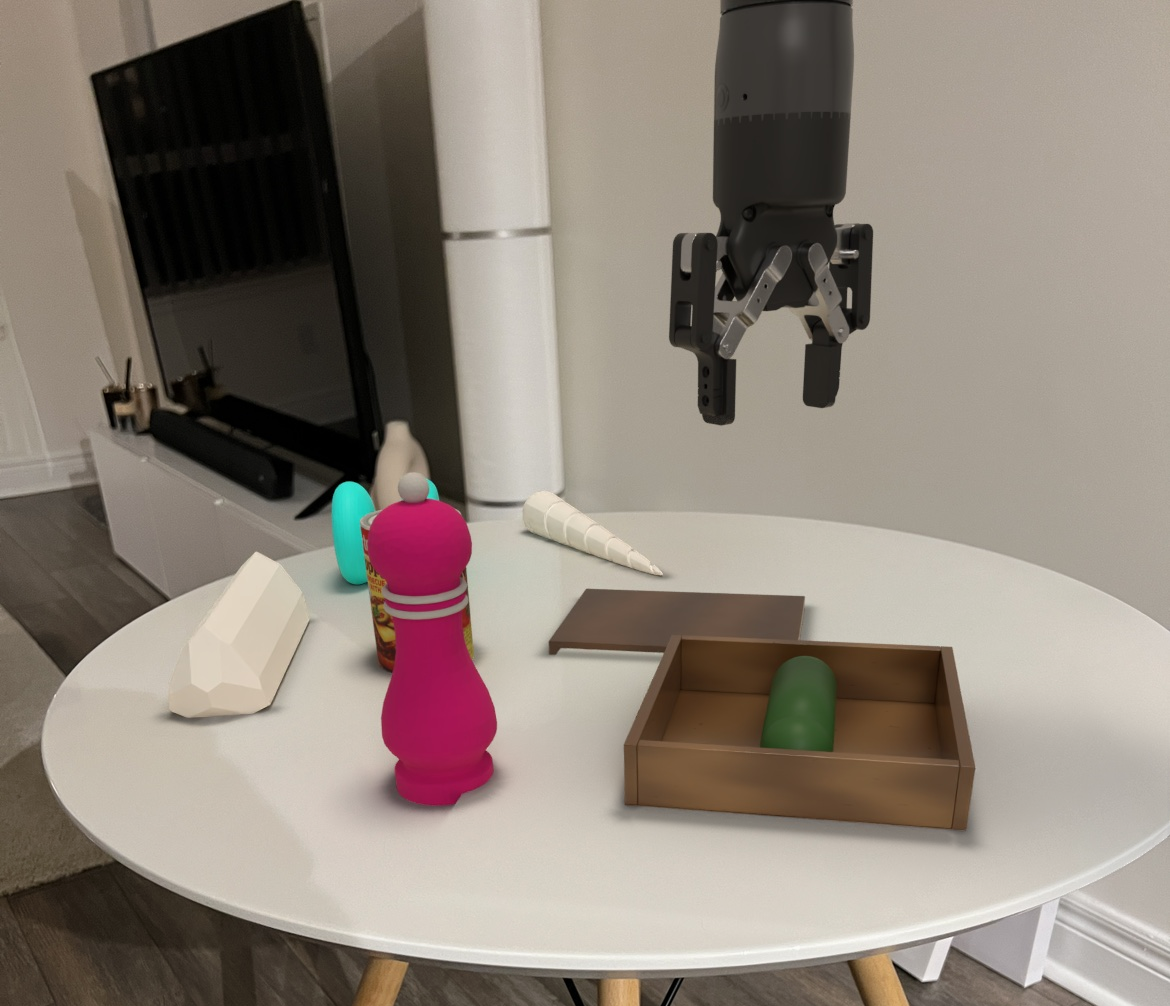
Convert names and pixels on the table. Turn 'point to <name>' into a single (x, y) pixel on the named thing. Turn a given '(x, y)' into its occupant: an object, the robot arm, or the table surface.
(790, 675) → the cucumber
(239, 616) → the crystal
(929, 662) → the wooden tray
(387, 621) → the canned food
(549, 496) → the unicorn horn
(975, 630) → the table surface
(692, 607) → the cutting board
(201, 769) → the table surface
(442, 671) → the pepper mill
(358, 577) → the donuts
